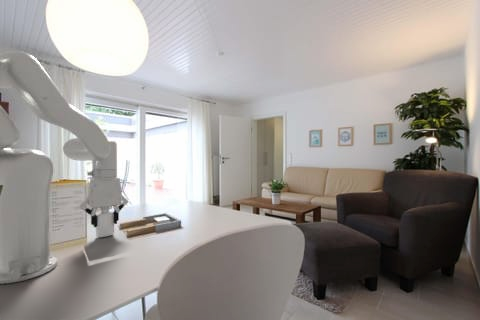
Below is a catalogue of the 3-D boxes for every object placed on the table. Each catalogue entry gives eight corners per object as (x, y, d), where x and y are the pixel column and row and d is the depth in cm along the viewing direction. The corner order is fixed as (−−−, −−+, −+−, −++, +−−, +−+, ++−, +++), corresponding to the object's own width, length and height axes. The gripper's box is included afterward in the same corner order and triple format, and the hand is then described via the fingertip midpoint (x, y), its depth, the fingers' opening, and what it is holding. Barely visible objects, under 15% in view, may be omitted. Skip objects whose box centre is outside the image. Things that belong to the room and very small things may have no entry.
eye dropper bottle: (97, 234, 82) (97, 201, 82) (115, 232, 84) (114, 200, 84) (94, 238, 78) (94, 203, 78) (113, 236, 80) (113, 202, 80)
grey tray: (181, 226, 93) (181, 220, 92) (156, 232, 86) (155, 225, 86) (166, 218, 105) (166, 213, 105) (143, 222, 98) (142, 216, 98)
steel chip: (169, 225, 94) (169, 219, 94) (157, 227, 91) (157, 221, 91) (165, 222, 99) (165, 216, 99) (153, 224, 96) (153, 218, 96)
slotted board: (184, 230, 91) (183, 222, 91) (130, 242, 78) (130, 233, 78) (165, 219, 107) (164, 213, 107) (117, 228, 94) (117, 220, 94)
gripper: (76, 176, 73) (76, 232, 73) (133, 173, 84) (133, 222, 84) (74, 175, 78) (74, 227, 79) (128, 172, 89) (128, 218, 90)
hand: (105, 224), depth 81 cm, fingers closed on eye dropper bottle, 5 cm apart
